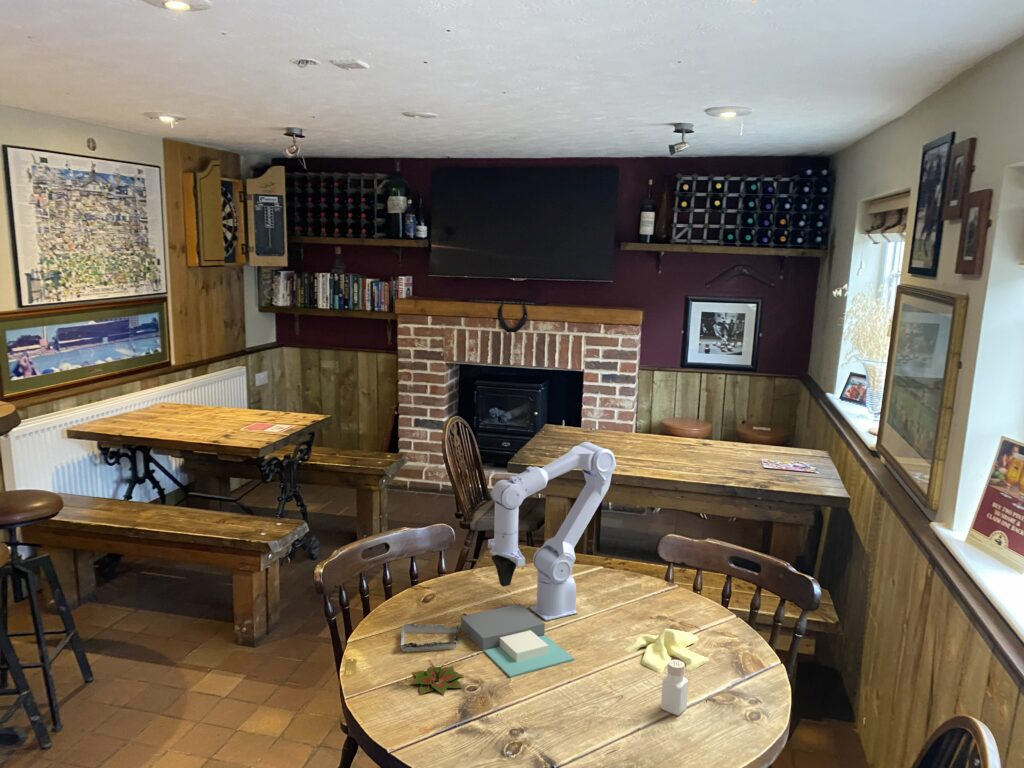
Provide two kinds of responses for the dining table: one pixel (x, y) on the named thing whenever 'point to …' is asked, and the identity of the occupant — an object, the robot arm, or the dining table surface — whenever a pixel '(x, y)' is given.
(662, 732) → the dining table surface
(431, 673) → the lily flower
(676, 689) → the pepper shaker
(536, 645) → the coaster
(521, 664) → the drip mat
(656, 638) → the cloth
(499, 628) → the riser
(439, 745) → the dining table surface
